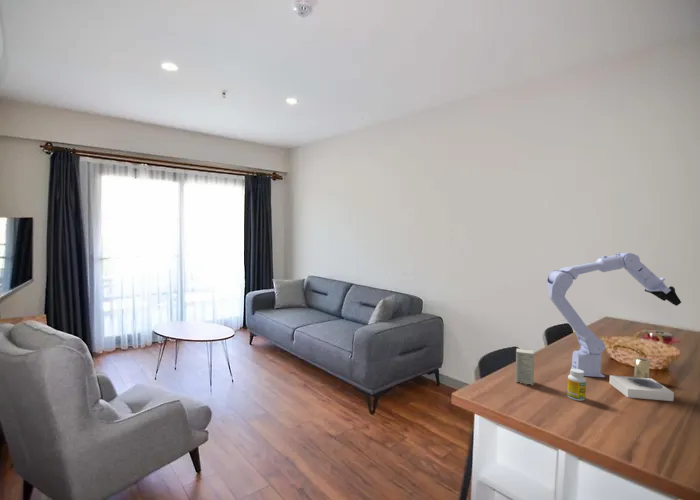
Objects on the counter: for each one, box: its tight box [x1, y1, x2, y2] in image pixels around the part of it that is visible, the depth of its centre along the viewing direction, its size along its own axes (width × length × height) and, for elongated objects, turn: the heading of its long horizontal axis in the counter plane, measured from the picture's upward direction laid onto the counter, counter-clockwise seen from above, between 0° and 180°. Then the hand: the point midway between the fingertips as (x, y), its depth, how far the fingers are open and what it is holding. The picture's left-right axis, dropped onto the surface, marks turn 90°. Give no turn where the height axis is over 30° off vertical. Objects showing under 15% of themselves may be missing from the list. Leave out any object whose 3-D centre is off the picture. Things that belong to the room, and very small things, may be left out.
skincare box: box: [515, 348, 535, 386], centre depth 138 cm, size 6×4×12 cm
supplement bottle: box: [566, 368, 587, 402], centre depth 125 cm, size 5×5×10 cm
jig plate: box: [609, 374, 675, 402], centre depth 131 cm, size 14×12×3 cm
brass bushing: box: [633, 357, 651, 378], centre depth 141 cm, size 4×4×8 cm
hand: (672, 301), depth 141 cm, fingers open, 7 cm apart
